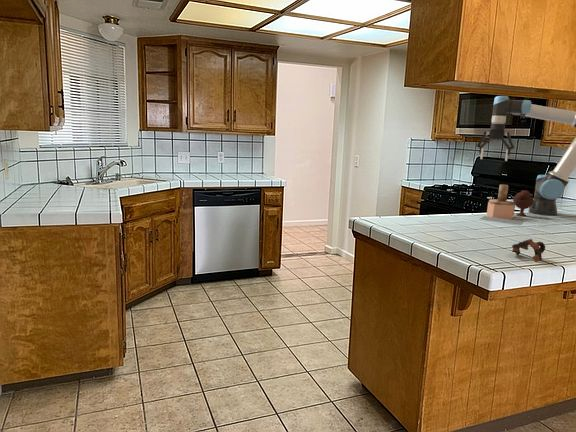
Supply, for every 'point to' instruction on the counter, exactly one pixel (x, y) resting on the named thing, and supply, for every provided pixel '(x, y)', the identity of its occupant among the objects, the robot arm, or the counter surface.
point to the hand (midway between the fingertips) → (493, 160)
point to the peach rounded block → (502, 197)
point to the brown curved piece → (534, 245)
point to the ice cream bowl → (523, 201)
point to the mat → (502, 220)
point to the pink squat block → (500, 211)
